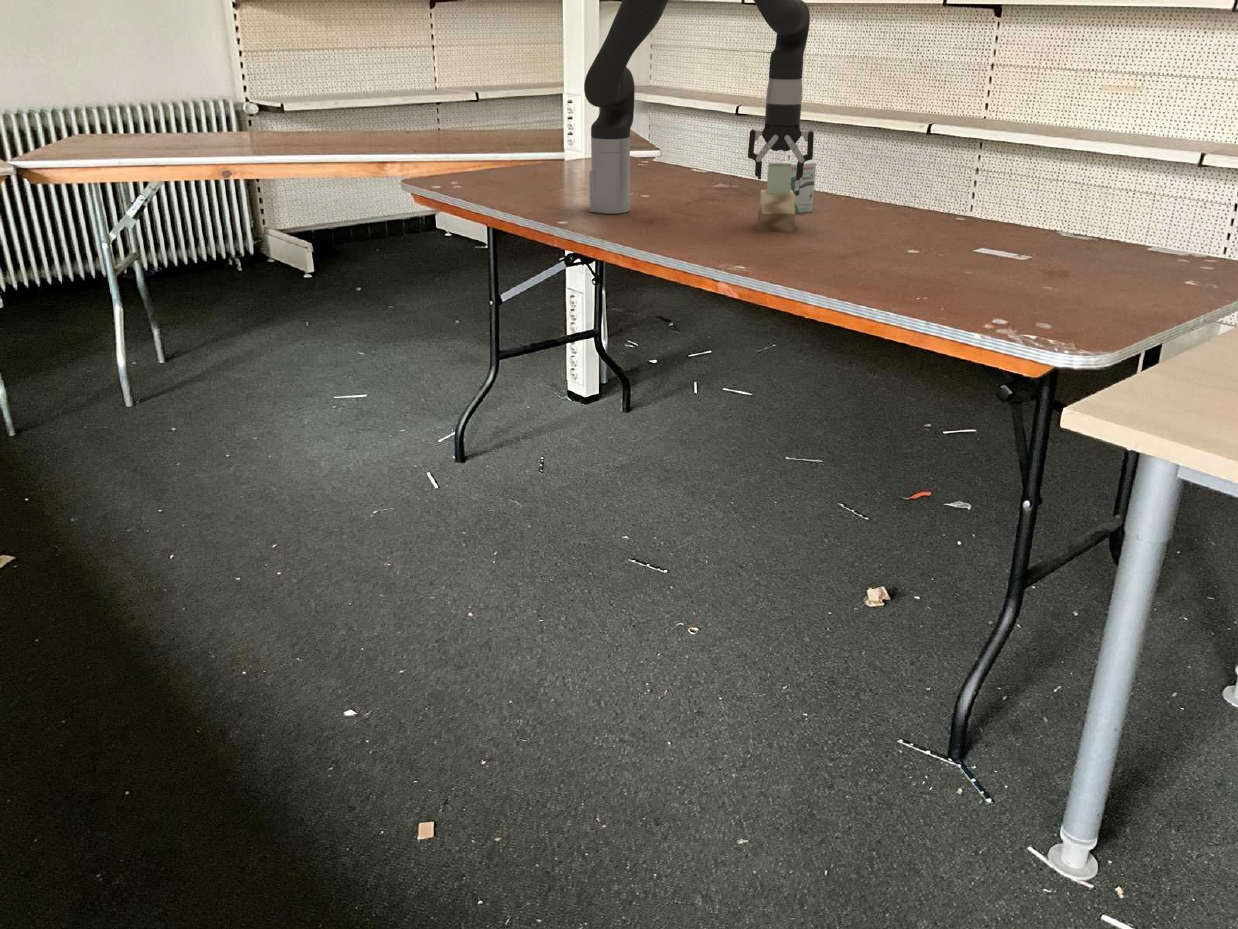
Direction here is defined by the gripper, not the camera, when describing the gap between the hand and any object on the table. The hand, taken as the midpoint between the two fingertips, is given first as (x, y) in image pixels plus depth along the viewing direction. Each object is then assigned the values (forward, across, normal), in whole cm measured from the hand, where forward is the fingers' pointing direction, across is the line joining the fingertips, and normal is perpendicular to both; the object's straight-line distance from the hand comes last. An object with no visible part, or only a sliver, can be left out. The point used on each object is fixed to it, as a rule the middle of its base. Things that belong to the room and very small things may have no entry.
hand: (778, 179), depth 215 cm
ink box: (+11, +4, +20) cm, 23 cm away
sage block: (+3, 0, 0) cm, 3 cm away
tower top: (+7, 0, 0) cm, 7 cm away
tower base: (+11, 0, 0) cm, 11 cm away
